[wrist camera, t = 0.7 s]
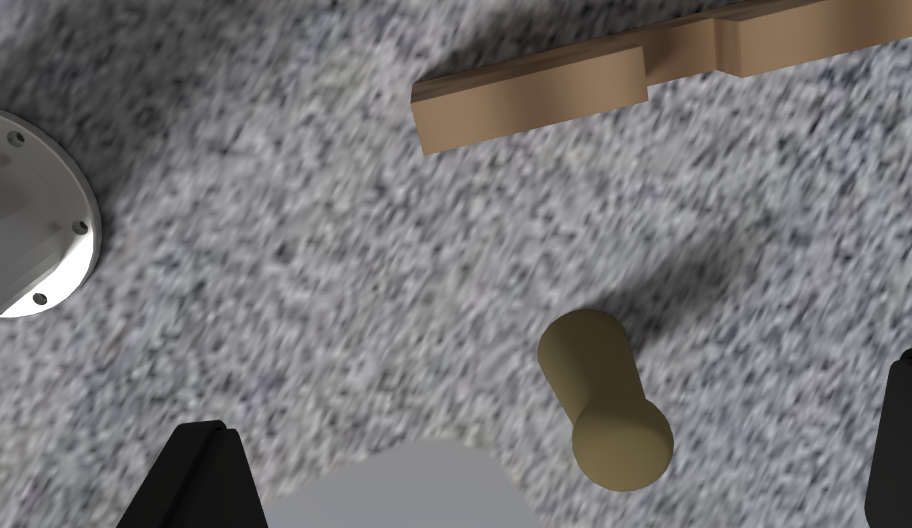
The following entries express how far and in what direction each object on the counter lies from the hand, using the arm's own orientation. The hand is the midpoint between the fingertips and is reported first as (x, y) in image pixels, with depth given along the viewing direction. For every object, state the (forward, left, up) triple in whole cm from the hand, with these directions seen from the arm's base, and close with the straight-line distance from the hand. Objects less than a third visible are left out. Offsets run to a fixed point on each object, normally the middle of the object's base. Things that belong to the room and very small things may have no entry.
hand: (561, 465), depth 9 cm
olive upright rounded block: (+10, -15, -29) cm, 34 cm away
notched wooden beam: (+10, +4, -29) cm, 31 cm away
